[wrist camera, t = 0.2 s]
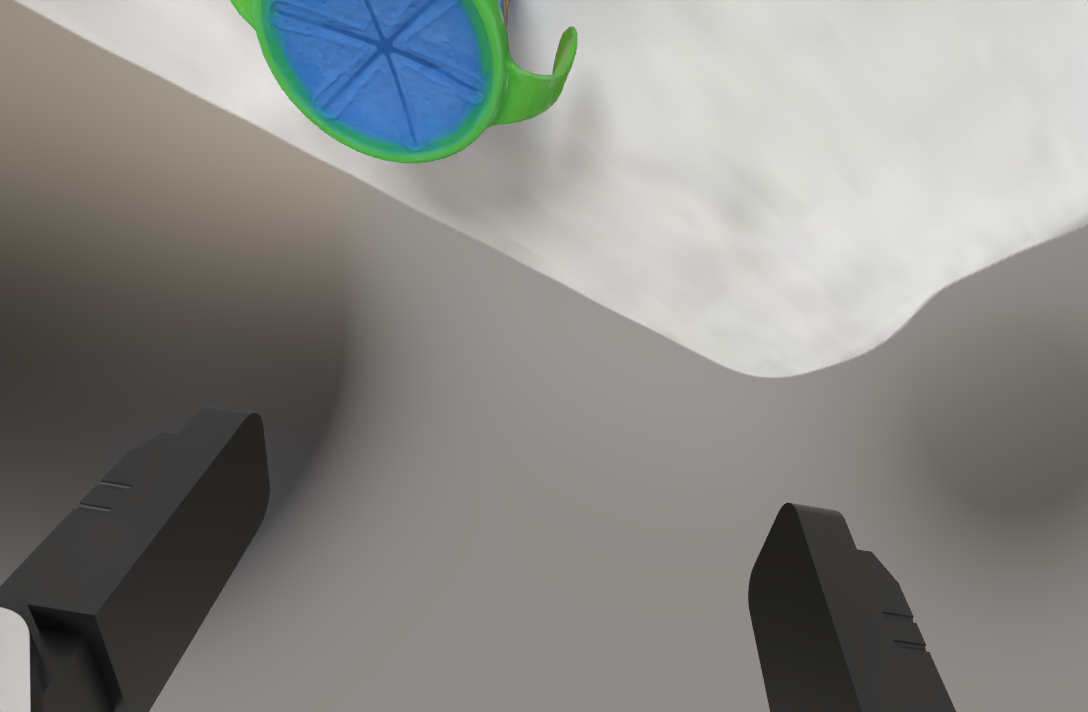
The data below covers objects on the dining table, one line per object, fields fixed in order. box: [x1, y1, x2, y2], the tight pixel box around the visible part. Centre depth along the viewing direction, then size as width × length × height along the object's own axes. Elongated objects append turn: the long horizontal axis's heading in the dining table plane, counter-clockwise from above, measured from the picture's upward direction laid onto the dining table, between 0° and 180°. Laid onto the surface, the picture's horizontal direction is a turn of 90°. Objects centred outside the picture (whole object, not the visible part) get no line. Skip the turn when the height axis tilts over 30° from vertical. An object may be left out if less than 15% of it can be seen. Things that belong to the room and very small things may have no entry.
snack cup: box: [230, 0, 577, 163], centre depth 30 cm, size 16×10×10 cm
